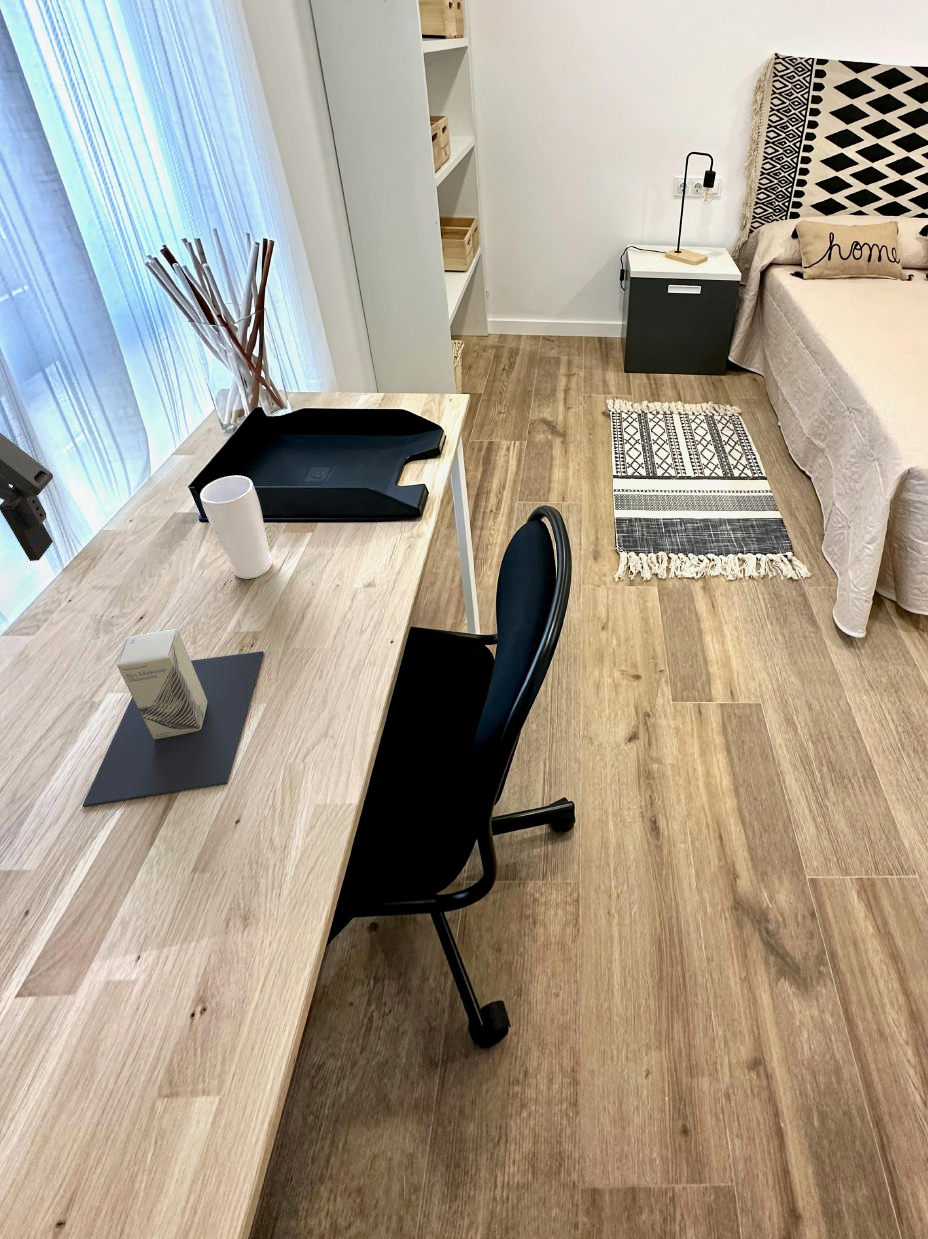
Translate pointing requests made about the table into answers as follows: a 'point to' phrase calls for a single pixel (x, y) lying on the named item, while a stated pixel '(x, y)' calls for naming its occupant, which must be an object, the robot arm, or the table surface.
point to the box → (163, 683)
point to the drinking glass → (238, 524)
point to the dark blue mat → (181, 739)
